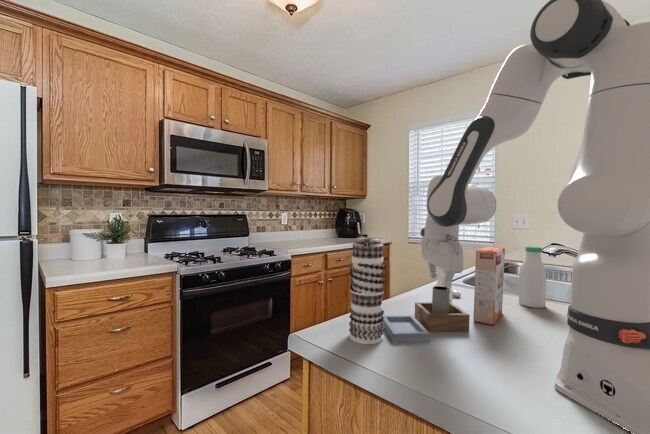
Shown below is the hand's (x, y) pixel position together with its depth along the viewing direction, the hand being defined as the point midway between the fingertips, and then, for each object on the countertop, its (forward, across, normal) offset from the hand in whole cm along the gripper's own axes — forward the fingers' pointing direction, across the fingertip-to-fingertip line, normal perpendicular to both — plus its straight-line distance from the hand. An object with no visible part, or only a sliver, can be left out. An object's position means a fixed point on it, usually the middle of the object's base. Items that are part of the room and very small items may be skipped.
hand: (439, 281), depth 90 cm
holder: (+12, -1, 0) cm, 12 cm away
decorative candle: (+12, -9, +22) cm, 27 cm away
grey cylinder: (+12, -1, 0) cm, 12 cm away
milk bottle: (+12, +16, -39) cm, 44 cm away
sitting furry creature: (+12, +26, -13) cm, 32 cm away
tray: (+12, -6, +12) cm, 18 cm away
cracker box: (+12, +4, -17) cm, 22 cm away
